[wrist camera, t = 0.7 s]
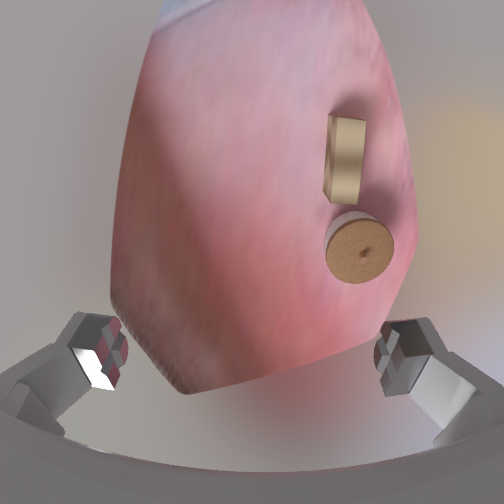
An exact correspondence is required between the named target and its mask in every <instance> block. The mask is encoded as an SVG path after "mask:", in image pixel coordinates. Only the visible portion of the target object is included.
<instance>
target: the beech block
mask: <svg viewBox="0 0 504 504" xmlns="http://www.w3.org/2000/svg"><path fill="white" fill-rule="evenodd" d="M365 131H366V121H365V120H361V119H357V118H353V117H344V116H335V115H328V126H327V142H326V156H325V169H324V181H323V192H324V194H325V195H326V197H327V198H328V200H329V202H330V203H336V204H353V205H357V203H358V196H359V188H360V180H361V172H362V163H363V153H364V143H365Z"/></svg>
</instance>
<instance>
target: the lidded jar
mask: <svg viewBox="0 0 504 504" xmlns="http://www.w3.org/2000/svg"><path fill="white" fill-rule="evenodd" d="M324 252H325V256H326V261H327V265H328V267H329V270H330V271H331V273H332V274H333V275H334V276H335V277H336V278H337V279H339V280H341V281H343V282H346V283H352V284H359V283H365V282H368V281H370V280H372V279H374V278H376V277H377V276H379V275H380V274H381V273H382V272H383V271H384V270H385V269H386V268H387V266H388V265H389V263H390V261H391V259H392V256H393V252H394V241H393V238H392V235H391V233H390V232H389V230H388V229H387V228H386V227H385V226H384V225H383V224H382V223H381V222H380V221H379V220H377V219H376V218H375V217H373V216H372V215H370V214H367V213H365V212H360V211H351V212H346V213H344V214H342V215H340V216H338V217H337V218H335V219H334V220H333V221H332V223H331V224H330V225H329V227H328V229H327V231H326V233H325V237H324Z"/></svg>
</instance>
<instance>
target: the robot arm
mask: <svg viewBox="0 0 504 504" xmlns="http://www.w3.org/2000/svg"><path fill="white" fill-rule="evenodd" d="M121 327H122V325H121V323H120V321H119V318H117V317H115V316H107V315H99V314H92V313H83V312H77V313H74V315H73V316H72V318H71V319H70V321H69V322H68V324H67V325H66V327H65V328H64V329H63V331H62V332H61V334H60V335H59V337H58V339H57V340H56V342H55V343H54V344H49V345H47V346H45V347H44V348H42V349H40V350H39V351H37V352H35V353H34V354H32V355H30V356H29V357H27V358H25V359H24V360H22V361H20V362H19V363H17V364H16V365H14V366H12V367H11V368H9V369H7V370H6V371H4V372H2V373H1V374H0V504H504V387H503V386H502V385H501V384H499V383H498V382H497V381H495V380H494V379H492V378H491V377H489V376H487V375H486V374H484V373H483V372H482V371H480V370H479V369H477V368H476V367H474V366H473V365H472V364H470V363H468V362H467V361H466V360H464V359H462V358H461V357H460V356H458V355H457V354H455V353H454V352H448V351H447V349H446V347H445V345H444V343H443V341H442V340H441V338H440V336H439V334H438V333H437V331H436V329H435V327H434V326H433V324H432V322H431V321H430V320H429V319H428V318H427V317H425V318H415V319H406V320H394V321H385V322H384V323H383V325H382V327H381V330H380V331H381V334H382V337H381V338H380V339H379V340H378V341H377V342H376V345H375V348H374V363H375V366H376V369H377V370H378V371H379V372H380V373H382V374H383V375H382V377H381V379H380V382H381V385H382V388H383V392H384V394H385V397H386V396H394V395H402V394H409V396H410V397H411V398H412V399H413V400H414V401H415V402H416V403H417V404H418V405H419V406H420V407H421V408H422V409H423V410H424V411H425V412H426V413H427V414H428V415H429V416H430V417H431V418H432V419H433V420H434V421H435V422H436V423H437V424H438V425H439V426H440V427H441V428H443V431H442V432H441V433H440V434H439V435H438V436H437V437H436V438H435V440H434V441H433V445H434V449H430V450H427V451H423V452H420V453H416V454H412V455H408V456H404V457H399V458H395V459H390V460H386V461H380V462H375V463H370V464H364V465H358V466H350V467H343V468H335V469H326V470H315V471H299V472H234V471H218V470H207V469H198V468H190V467H182V466H175V465H169V464H163V463H157V462H152V461H147V460H142V459H136V458H132V457H128V456H124V455H119V454H116V453H112V452H108V451H105V450H101V449H98V448H94V447H91V446H88V445H84V444H81V443H78V442H75V441H72V440H69V439H67V438H64V437H63V436H64V434H65V431H64V429H63V427H62V426H61V425H60V424H59V423H58V422H57V420H56V419H57V418H58V417H59V416H60V415H61V414H63V413H64V412H65V411H66V410H67V409H68V408H69V407H70V406H72V405H73V404H74V403H75V402H76V401H77V400H78V399H79V398H81V397H82V396H83V395H84V394H85V393H86V392H87V391H89V390H90V389H91V388H92V386H94V387H99V388H105V389H111V390H114V389H115V386H116V384H117V381H118V379H119V377H120V372H119V368H120V367H121V366H123V365H124V364H125V362H126V360H127V355H128V343H127V340H126V337H125V336H124V335H123V334H122V333H121V332H120V329H121Z"/></svg>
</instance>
